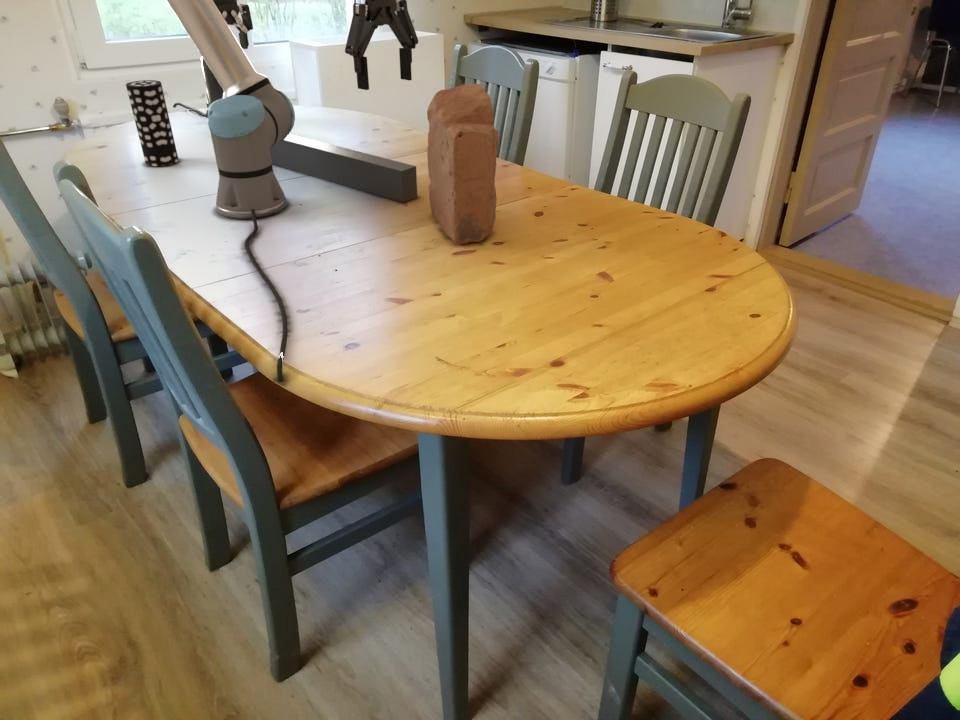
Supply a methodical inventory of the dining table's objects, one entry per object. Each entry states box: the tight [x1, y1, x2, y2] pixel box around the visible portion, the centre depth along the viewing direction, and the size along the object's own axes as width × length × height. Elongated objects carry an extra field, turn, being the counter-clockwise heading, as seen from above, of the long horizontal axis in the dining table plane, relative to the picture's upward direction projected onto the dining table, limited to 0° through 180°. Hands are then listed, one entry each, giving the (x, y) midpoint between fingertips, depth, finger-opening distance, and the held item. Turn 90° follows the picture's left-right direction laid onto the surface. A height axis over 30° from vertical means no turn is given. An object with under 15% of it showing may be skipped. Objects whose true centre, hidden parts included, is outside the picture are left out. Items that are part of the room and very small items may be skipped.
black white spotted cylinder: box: [125, 79, 179, 167], centre depth 181 cm, size 8×8×20 cm
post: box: [270, 133, 418, 203], centre depth 179 cm, size 68×5×8 cm, turn 53°
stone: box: [426, 83, 500, 245], centre depth 142 cm, size 22×11×28 cm, turn 18°
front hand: (385, 84), depth 153 cm, fingers open, 13 cm apart
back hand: (230, 50), depth 180 cm, fingers open, 8 cm apart
